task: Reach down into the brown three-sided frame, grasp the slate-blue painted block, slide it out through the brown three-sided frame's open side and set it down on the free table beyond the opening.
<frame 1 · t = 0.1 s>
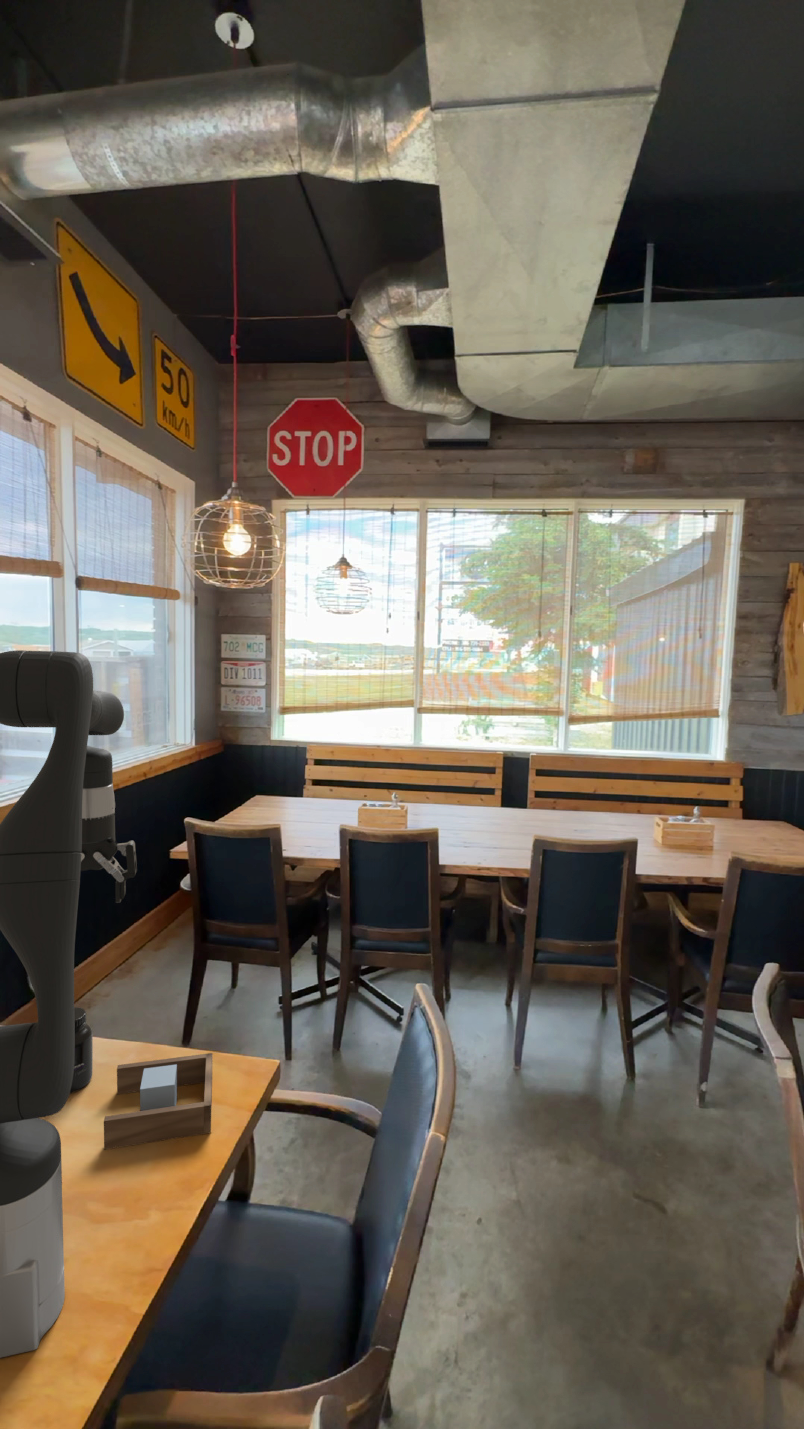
hand: (92, 902, 112), 29 cm above the table, fingers open, 8 cm apart
brown three-sided frame: (145, 1113, 103), on the table
slate block: (159, 1111, 103), resting in brown three-sided frame
supplement bottle: (70, 1082, 109), on the table
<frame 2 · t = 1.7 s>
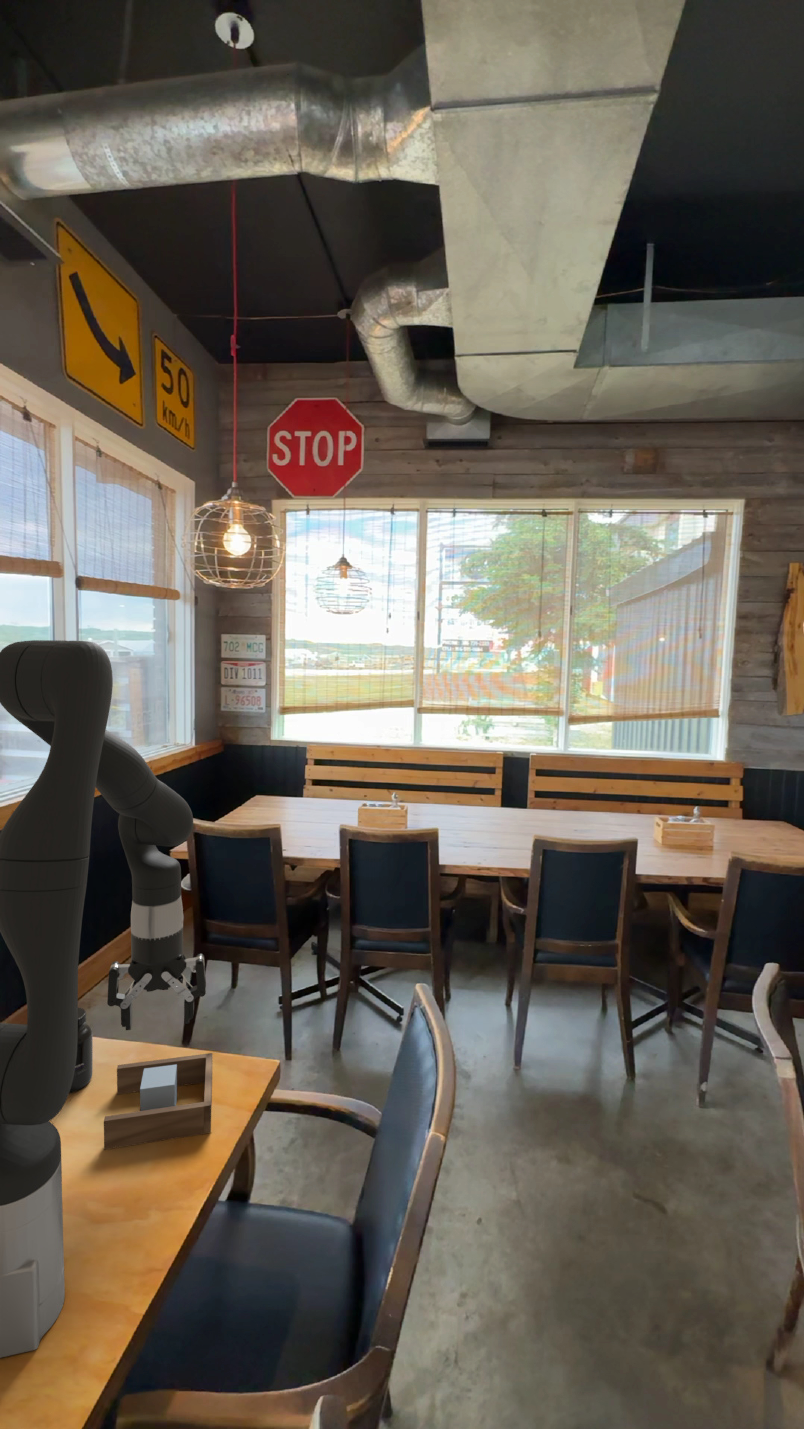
hand: (158, 1024, 102), 15 cm above the table, fingers open, 8 cm apart
nothing on the table moved.
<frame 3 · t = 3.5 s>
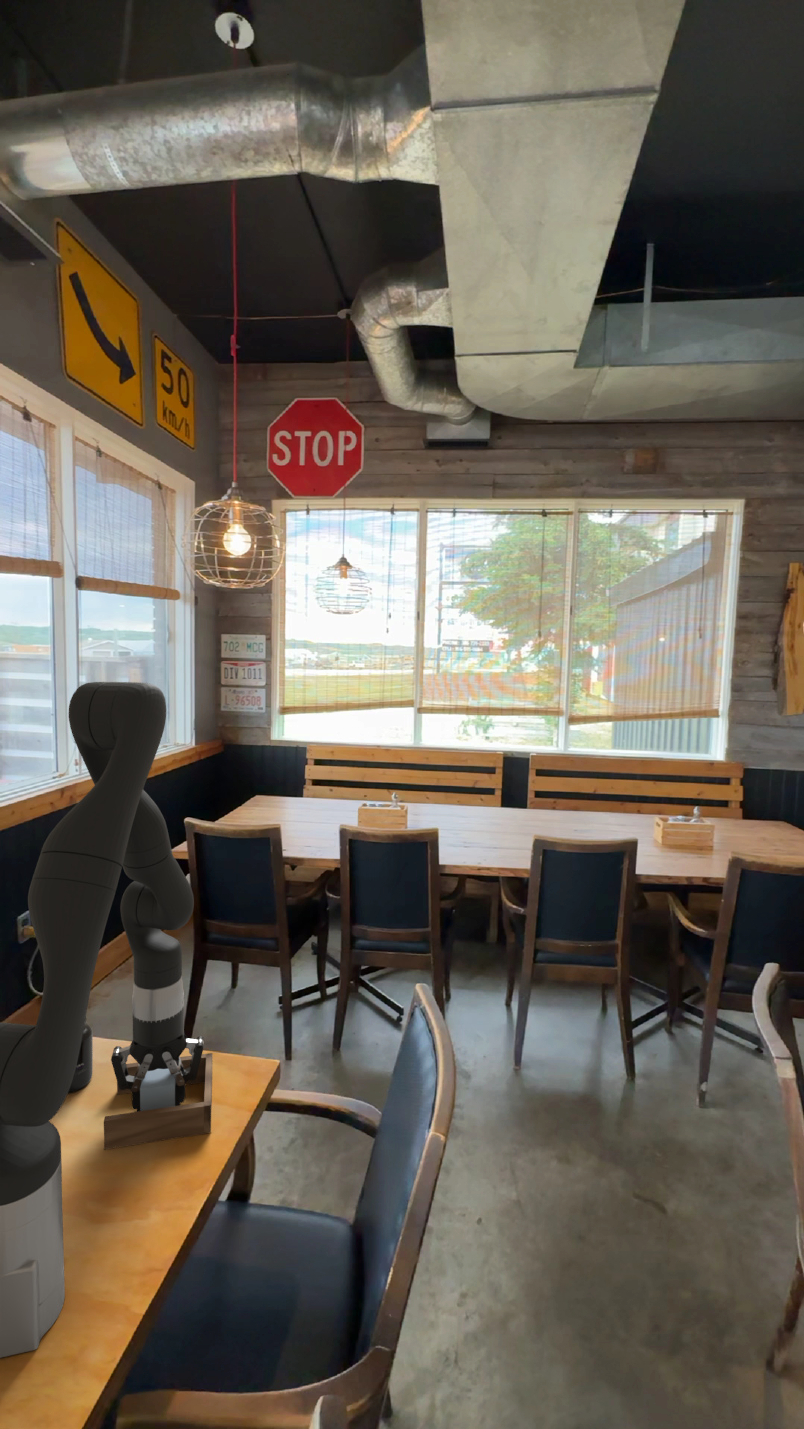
hand: (159, 1105, 103), 1 cm above the table, fingers closed on slate block, 5 cm apart
slate block: (159, 1111, 103), resting in brown three-sided frame, touching gripper
everything else where it was.
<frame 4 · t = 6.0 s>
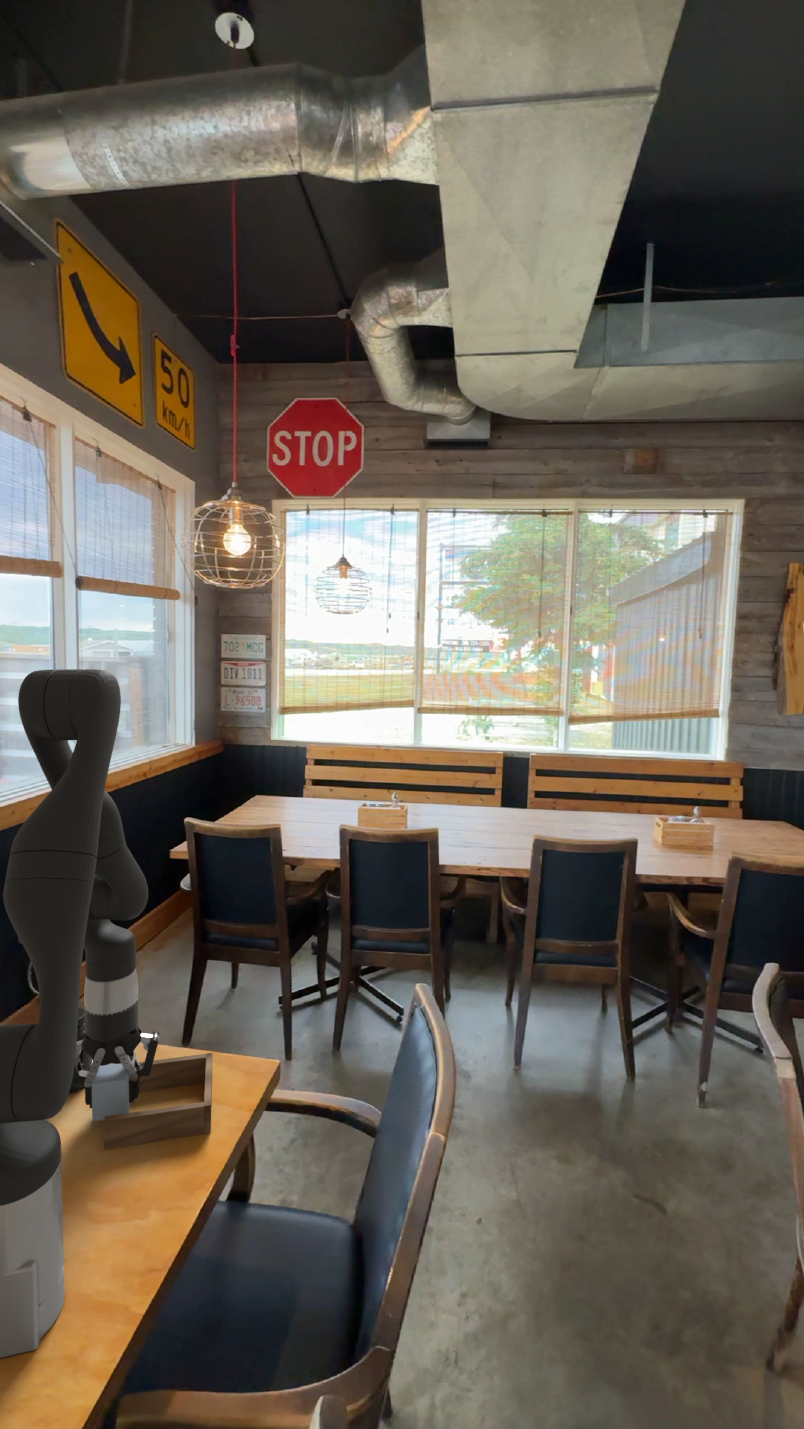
hand: (113, 1101, 101), 3 cm above the table, fingers closed on slate block, 5 cm apart
slate block: (113, 1107, 101), point 2 cm above the table, touching gripper
everything else where it was.
when the fingers open (2 cm above the table, at t = 8.3 s): slate block moves 1 cm, on the table.
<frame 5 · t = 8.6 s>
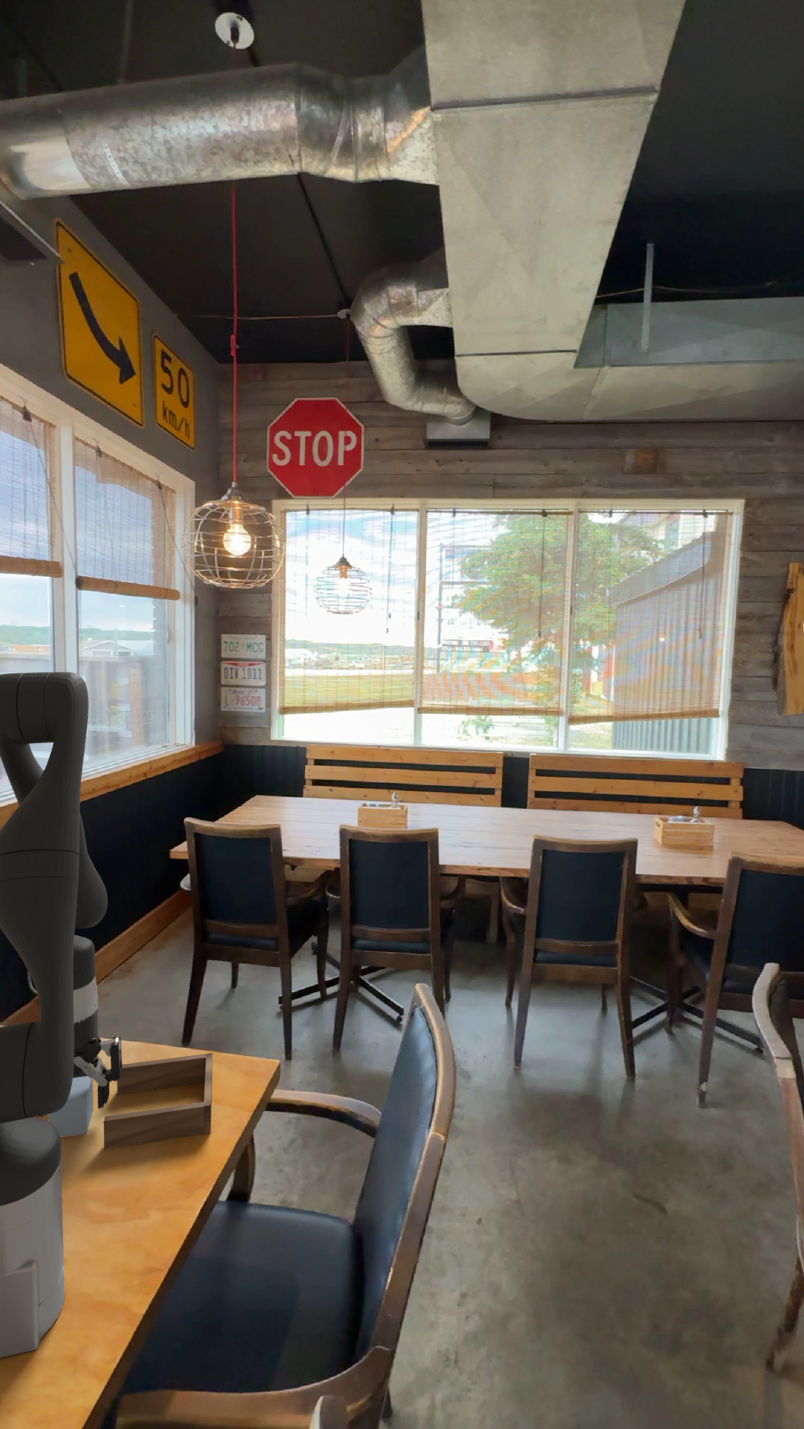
hand: (72, 1108, 100), 3 cm above the table, fingers open, 8 cm apart
slate block: (72, 1124, 100), on the table
everything else where it was.
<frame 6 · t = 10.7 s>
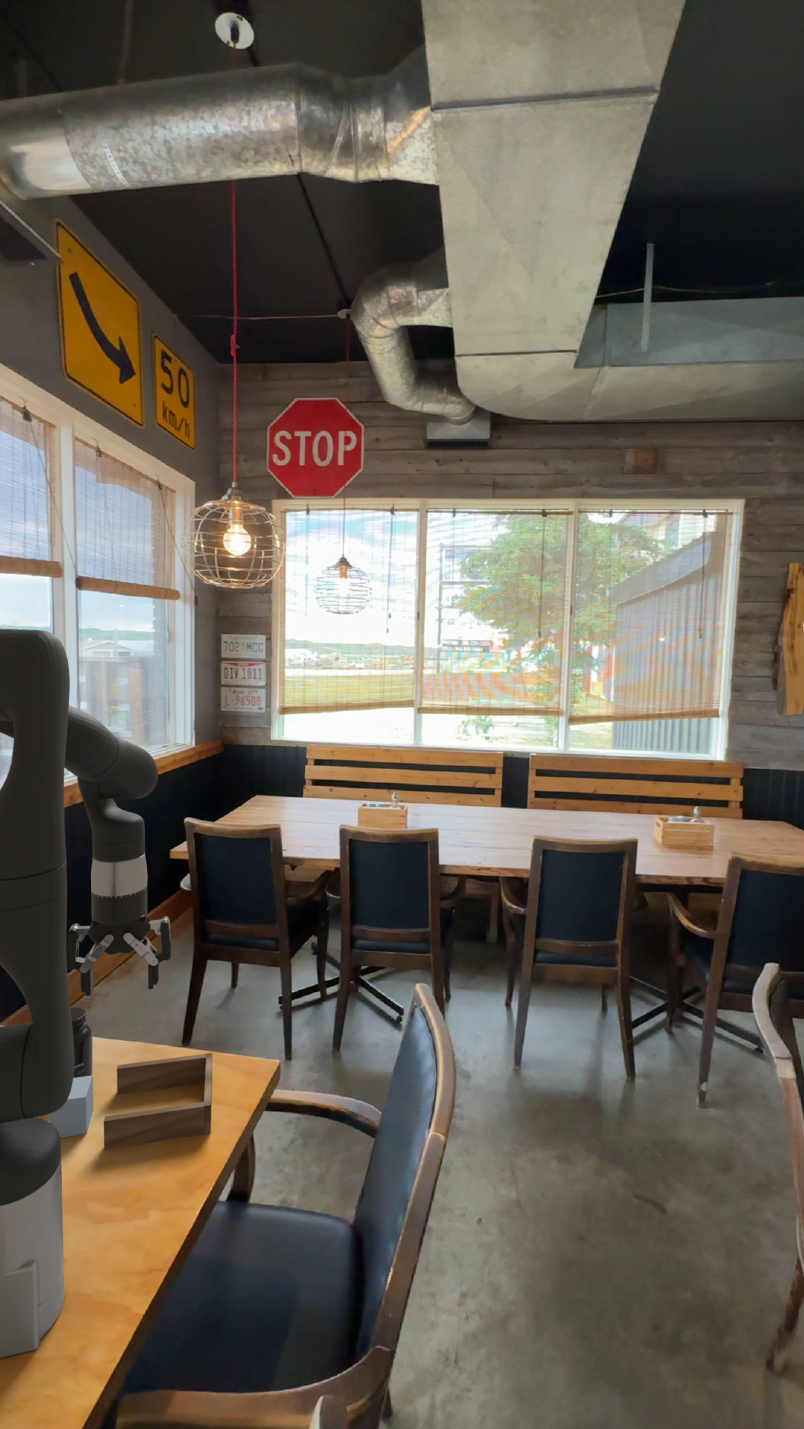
hand: (121, 990, 97), 22 cm above the table, fingers open, 8 cm apart
nothing on the table moved.
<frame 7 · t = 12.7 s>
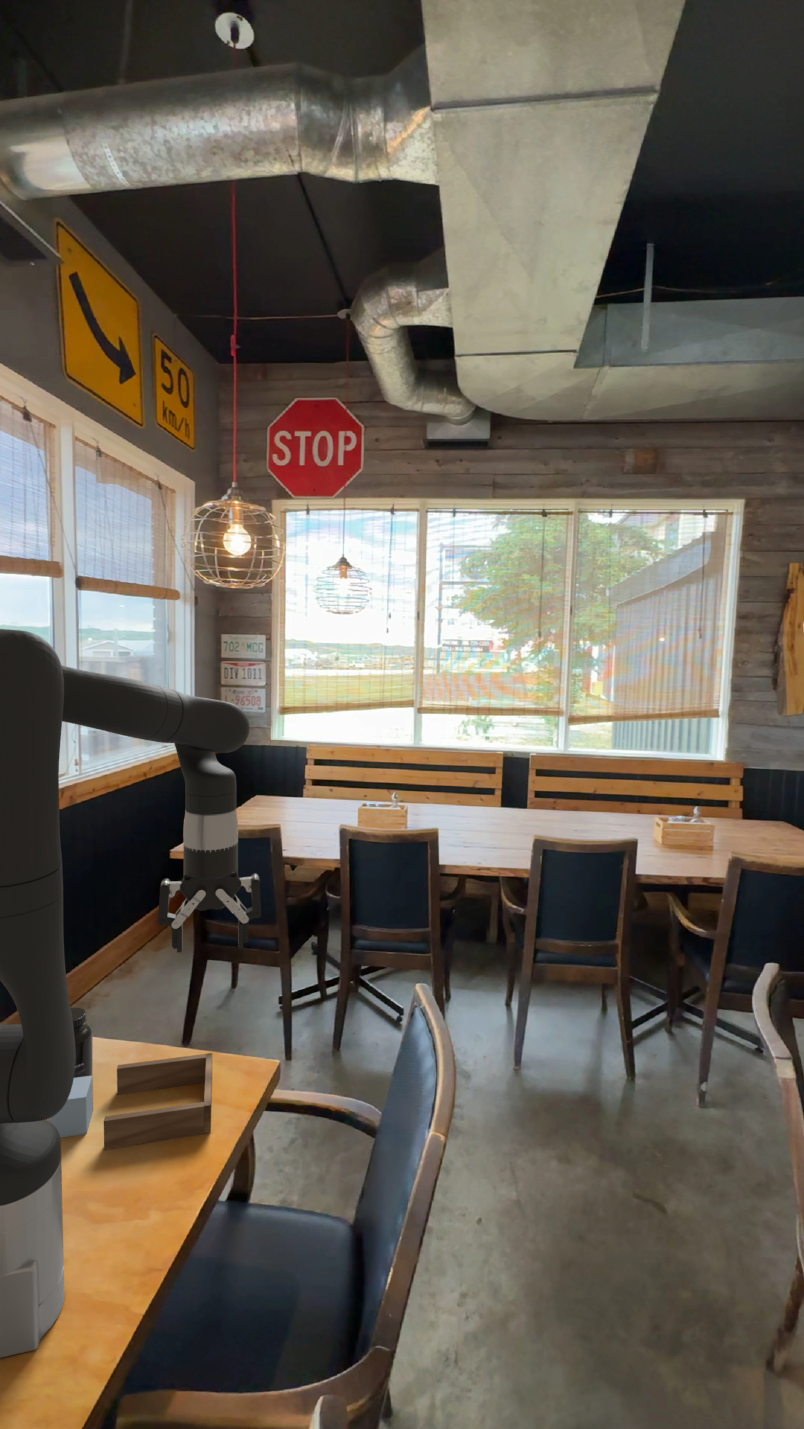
hand: (210, 947, 95), 30 cm above the table, fingers open, 8 cm apart
nothing on the table moved.
at the end: slate block inside the target area (0.4 cm from its centre), on the table; slate block tilted 0°; the gripper is holding nothing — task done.
